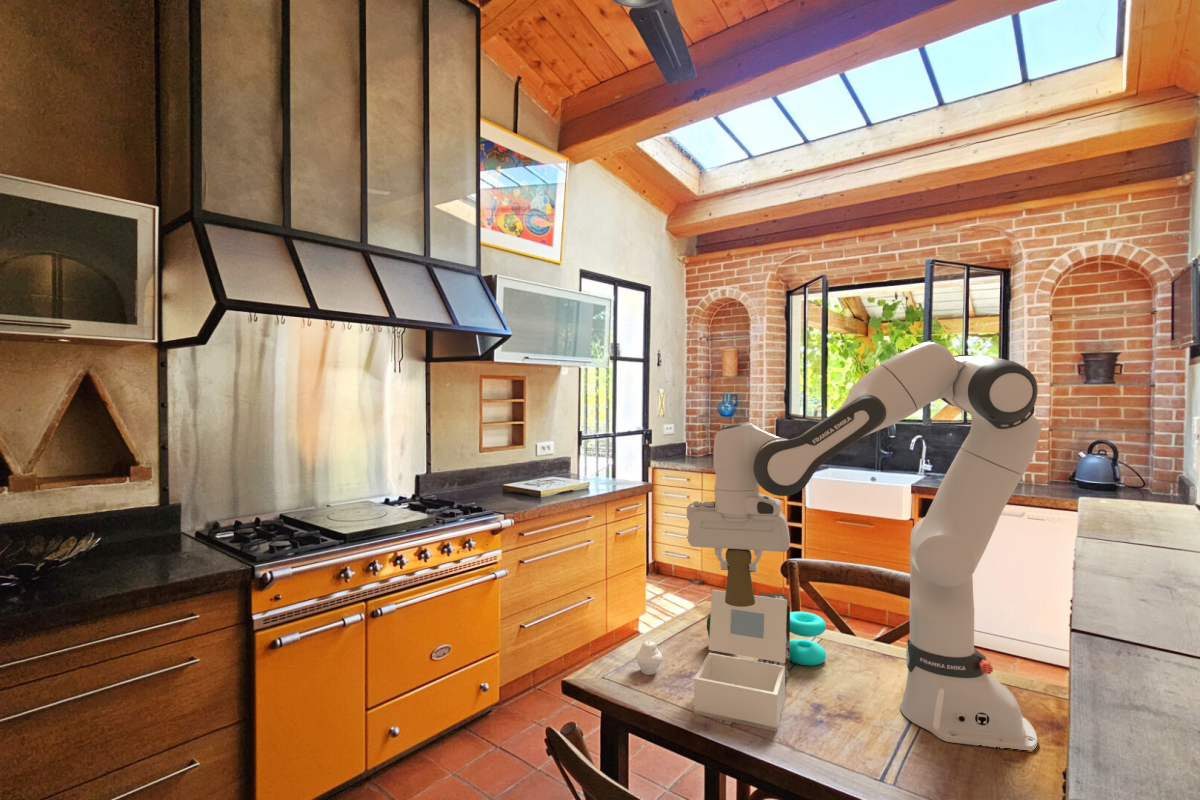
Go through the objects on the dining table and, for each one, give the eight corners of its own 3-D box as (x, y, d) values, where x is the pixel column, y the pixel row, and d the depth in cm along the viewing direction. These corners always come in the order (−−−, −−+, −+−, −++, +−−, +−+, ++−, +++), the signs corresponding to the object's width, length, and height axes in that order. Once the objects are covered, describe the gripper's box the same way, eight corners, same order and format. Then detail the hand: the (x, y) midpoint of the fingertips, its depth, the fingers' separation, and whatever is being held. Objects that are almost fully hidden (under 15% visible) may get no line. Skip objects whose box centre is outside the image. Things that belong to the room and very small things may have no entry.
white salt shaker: (630, 670, 137) (630, 640, 137) (650, 663, 140) (650, 633, 140) (647, 680, 132) (648, 649, 132) (668, 673, 135) (668, 642, 135)
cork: (746, 608, 116) (744, 552, 116) (719, 602, 120) (717, 548, 120) (760, 600, 121) (758, 546, 121) (733, 595, 125) (732, 542, 125)
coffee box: (790, 677, 133) (790, 606, 133) (761, 675, 135) (761, 604, 134) (786, 660, 142) (786, 593, 142) (758, 657, 143) (758, 591, 143)
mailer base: (784, 699, 123) (784, 666, 123) (777, 731, 112) (777, 694, 112) (708, 684, 130) (708, 652, 130) (693, 713, 118) (693, 678, 118)
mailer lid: (784, 663, 123) (785, 662, 124) (786, 600, 126) (787, 599, 126) (708, 649, 129) (709, 649, 130) (711, 589, 132) (712, 589, 133)
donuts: (823, 611, 147) (828, 626, 137) (822, 651, 147) (828, 669, 137) (781, 608, 149) (783, 622, 140) (781, 647, 149) (783, 665, 140)
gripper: (683, 503, 121) (685, 571, 121) (787, 506, 114) (789, 578, 114) (689, 498, 127) (691, 563, 127) (789, 501, 120) (791, 569, 120)
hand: (738, 570), depth 120 cm, fingers closed on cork, 4 cm apart
